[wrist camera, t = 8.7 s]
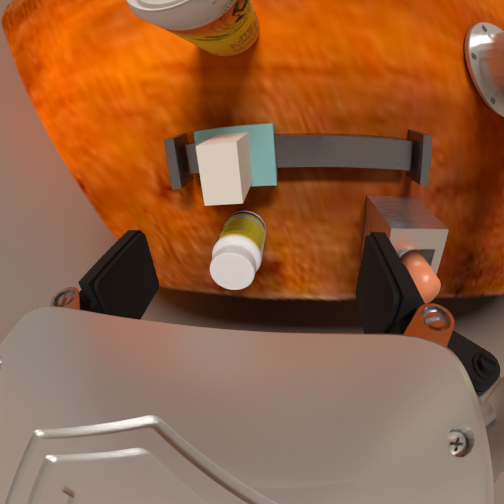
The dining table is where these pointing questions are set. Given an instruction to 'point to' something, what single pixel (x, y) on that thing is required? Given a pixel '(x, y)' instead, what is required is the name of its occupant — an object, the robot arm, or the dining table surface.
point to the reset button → (421, 275)
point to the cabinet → (406, 226)
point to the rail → (322, 154)
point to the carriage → (235, 161)
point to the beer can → (204, 22)
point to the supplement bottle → (238, 250)
